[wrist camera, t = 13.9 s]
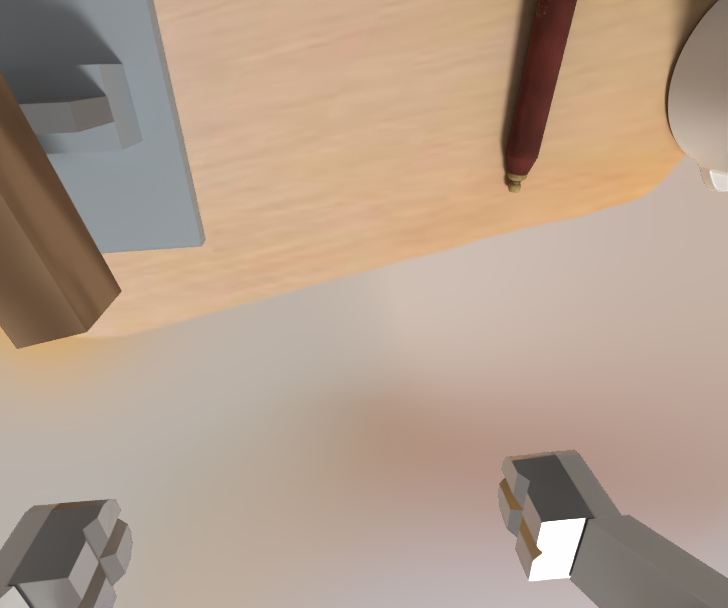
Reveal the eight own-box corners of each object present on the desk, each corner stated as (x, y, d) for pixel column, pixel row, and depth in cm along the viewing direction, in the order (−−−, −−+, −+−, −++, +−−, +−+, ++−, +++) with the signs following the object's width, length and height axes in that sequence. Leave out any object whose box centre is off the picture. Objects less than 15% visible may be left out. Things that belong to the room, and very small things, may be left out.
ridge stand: (132, -92, 28) (43, -168, 19) (205, 240, 38) (171, 295, 29) (-105, -87, 27) (-322, -165, 18) (36, 251, 38) (-54, 312, 28)
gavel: (580, 202, 37) (464, 200, 36) (555, 185, 41) (450, 183, 40) (691, -145, 26) (527, -163, 25) (642, -123, 30) (499, -138, 29)
